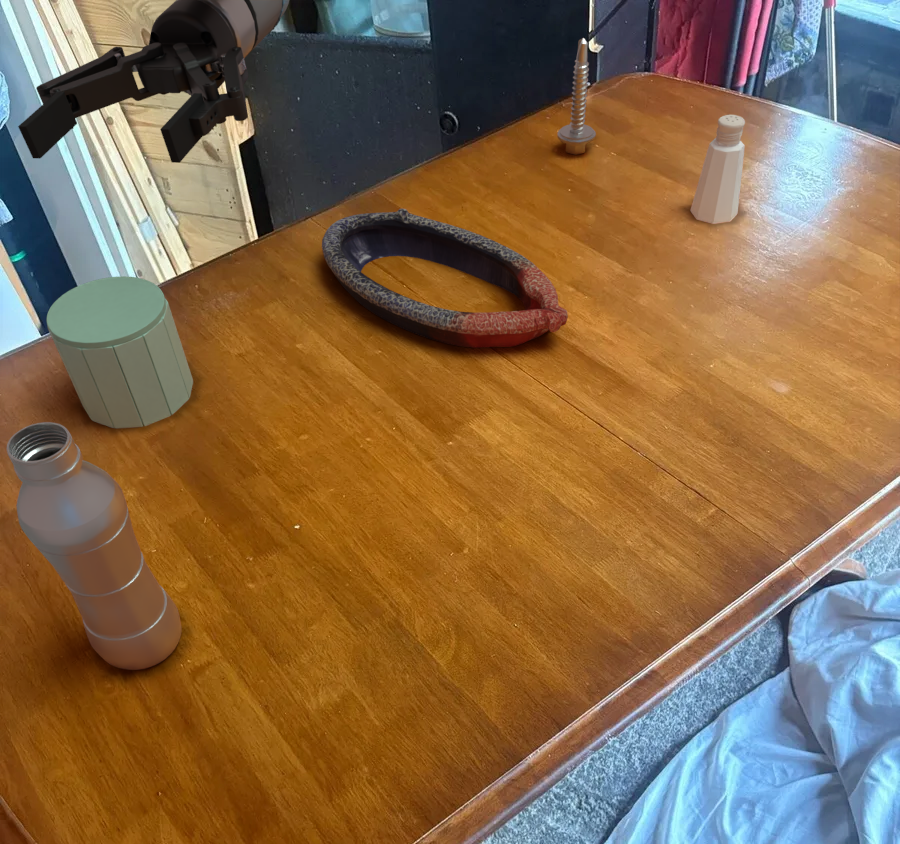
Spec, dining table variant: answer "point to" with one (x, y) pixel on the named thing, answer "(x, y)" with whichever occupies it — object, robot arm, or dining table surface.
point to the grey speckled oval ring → (450, 246)
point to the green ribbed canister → (121, 351)
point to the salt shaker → (721, 174)
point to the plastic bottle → (92, 547)
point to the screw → (578, 107)
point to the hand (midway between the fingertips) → (97, 144)
